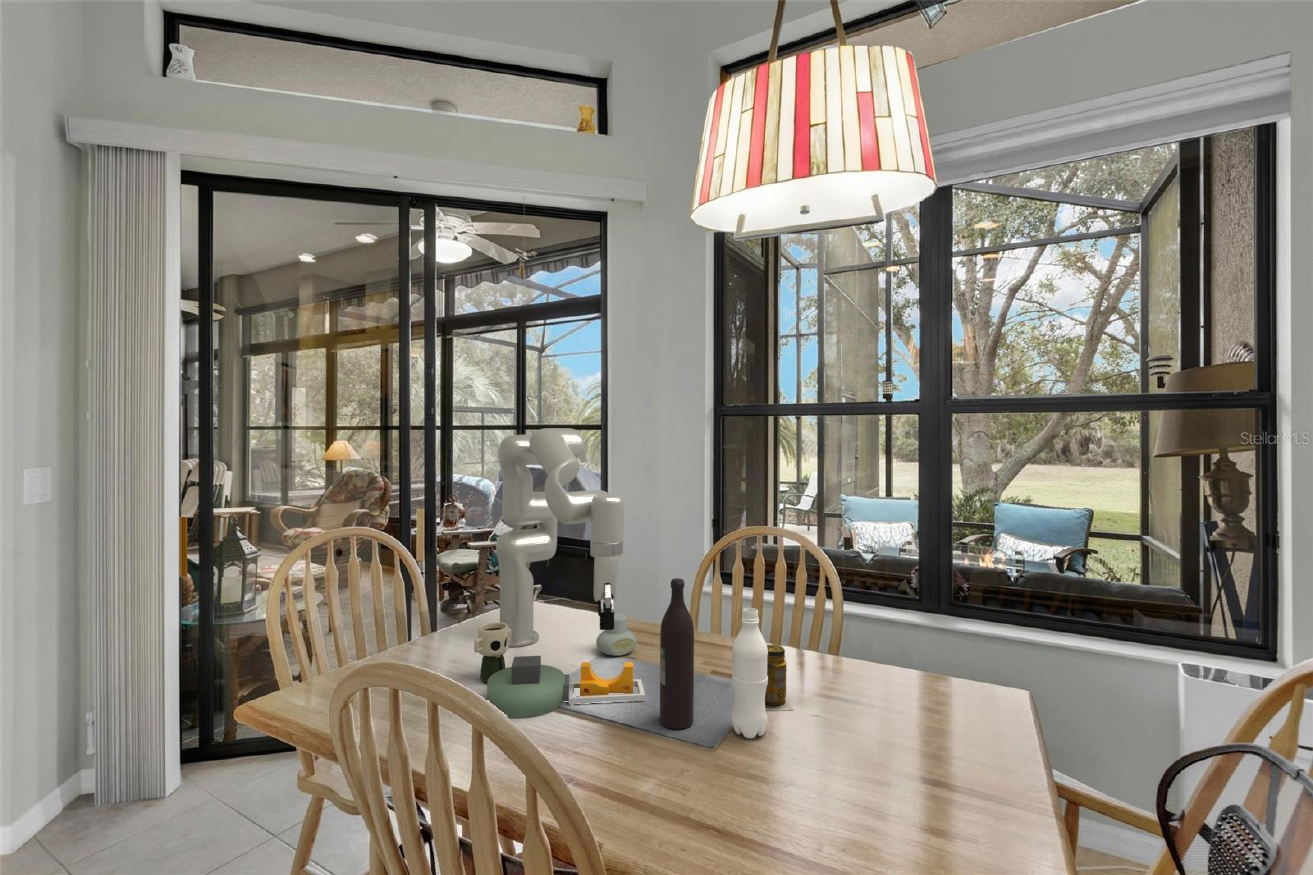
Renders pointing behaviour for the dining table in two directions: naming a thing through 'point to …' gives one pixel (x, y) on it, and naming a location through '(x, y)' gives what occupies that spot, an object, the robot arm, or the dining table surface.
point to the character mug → (492, 647)
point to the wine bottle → (677, 662)
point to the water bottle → (749, 677)
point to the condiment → (776, 680)
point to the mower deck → (540, 689)
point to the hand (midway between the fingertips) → (605, 622)
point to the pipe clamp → (605, 681)
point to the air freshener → (617, 638)
